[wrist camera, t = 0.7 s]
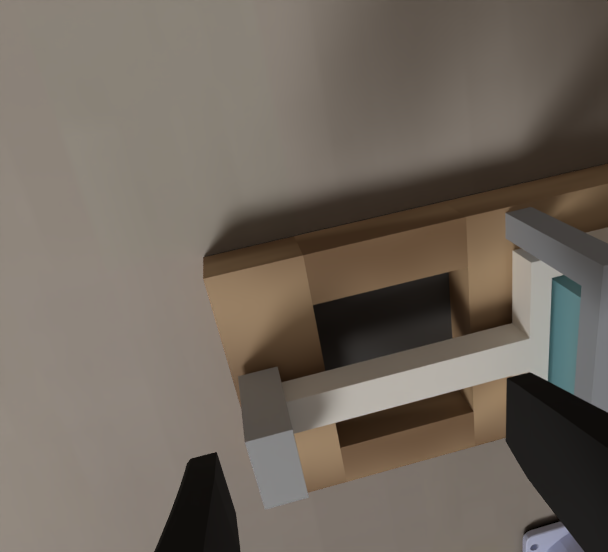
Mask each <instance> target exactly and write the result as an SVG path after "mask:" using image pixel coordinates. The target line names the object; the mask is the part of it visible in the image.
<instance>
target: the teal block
mask: <svg viewBox="0 0 608 552" xmlns="http://www.w3.org/2000/svg"><path fill="white" fill-rule="evenodd" d="M581 287H582V286H581V285H579V284H578V283H576V282H575V281H573V280H571V279H570V278H568V277H567V276H565V275H561V276H557V277H553V278H552V289H551V314H550V338H549V363H548V381H549V382H550V383H552V384H554V385H556V386H558V387H560V388H562V389H564V390H566V391H567V392H569V393H571V394H573V395H574V388H575V373H576V359H577V345H578V330H579V316H580V302H581Z"/></svg>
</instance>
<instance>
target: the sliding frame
mask: <svg viewBox="0 0 608 552" xmlns="http://www.w3.org/2000/svg"><path fill="white" fill-rule="evenodd" d="M586 233H587V234H589V235H591V236H593V237H595V238H597V239H599V240H601V241H603V242H606V243H608V227H607V228H603V229H599V230H594V231H590V232H586ZM561 275H563V274H562V273H560V272H559V271H557V270H555V269H554V268H552V267H551V266H549V265H547V264H546V263H544V262H543V261H541V260H539V259H538V258H536V257H535V256H533V255H531V254H530V253H528V252H527V251H525V250H523V249H522V248H521V249H517V250H512V323H511V324H507V325H503V326H499V327H495V328H491V329H487V330H483V331H479V332H476V333H472V334H468V335H464V336H460V337H456V338H452V339H448V340H444V341H441V342H437V343H433V344H429V345H425V346H421V347H417V348H413V349H409V350H406V351H402V352H398V353H394V354H390V355H386V356H382V357H378V358H374V359H371V360H367V361H363V362H359V363H355V364H351V365H347V366H343V367H339V368H336V369H332V370H328V371H324V372H320V373H316V374H312V375H308V376H304V377H301V378H297V379H293V380H289V381H285V382H281V378H280V374H279V370H278V366H277V367H273V368H269V369H265V370H261V371H257V372H253V373H249V374H246V375H242V376H238V381H239V390H240V400H241V409H242V419H243V429H244V438H245V444H246V448H247V451H248V454H249V458H250V461H251V464H252V468H253V471H254V474H255V478H256V481H257V484H258V488H259V491H260V494H261V498H262V501H263V504H264V508H265V509H269V508H273V507H276V506H280V505H283V504H287V503H291V502H294V501H298V500H301V499H305V498H309V496H308V492H307V488H306V484H305V479H304V475H303V471H302V466H301V462H300V458H299V454H298V449H297V445H296V441H295V437H294V434H295V433H299V432H303V431H306V430H310V429H314V428H318V427H321V426H325V425H329V424H333V423H336V422H340V421H344V420H348V419H351V418H355V417H359V416H363V415H366V414H370V413H374V412H378V411H381V410H385V409H389V408H393V407H396V406H400V405H404V404H408V403H411V402H415V401H419V400H423V399H426V398H430V397H434V396H438V395H441V394H445V393H449V392H453V391H456V390H460V389H464V388H468V387H471V386H475V385H479V384H483V383H486V382H490V381H494V380H498V379H501V378H505V377H509V376H512V377H513V376H517V375H520V374H524V373H528V372H531V373H533V374H535V375H537V376H539V377H541V378H543V379H545V380H547V381H548V363H549V338H550V314H551V289H552V278H553V277H557V276H561Z"/></svg>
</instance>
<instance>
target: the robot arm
mask: <svg viewBox="0 0 608 552" xmlns="http://www.w3.org/2000/svg"><path fill="white" fill-rule="evenodd" d="M506 442H507V444H508V446H509V448H510V449H511V451H512V453H513V455H514V456H515V458H516V460H517V461H518V463H519V465H520V466H521V468H522V470H523V471H524V473H525V474H526V476H527V478H528V479H529V481H530V482H531V483H532V485H533V486H534V487H535V489H536V490H537V491H538V492H539V494H540V495H541V496H542V498H543V499H544V500H545V502H546V503H547V504H548V506H549V507H550V508H551V509H552V511H553V512H554V513H555V515H556V516H557V517H558V518H559V520H560V522H557V523H553V524H550V525H547V526H543V527H540V528H536V529H533V530H530V531H528V532H527V533H525V535H524V537H523V552H608V412H606V411H604V410H602V409H600V408H598V407H596V406H594V405H592V404H590V403H588V402H586V401H585V400H583V399H581V398H579V397H577V396H575V395H573V394H571V393H569V392H567V391H566V390H564V389H562V388H560V387H558V386H556V385H554V384H552V383H550V382H549V381H547V380H545V379H543V378H541V377H539V376H537V375H535V374H533V373H531V372H528V373H524V374H520V375H517V376H513V377H509V378H507V387H506ZM154 552H240V544H239V535H238V527H237V519H236V512H235V509H234V506H233V503H232V499H231V496H230V493H229V490H228V487H227V484H226V480H225V477H224V474H223V471H222V468H221V464H220V461H219V458H218V455H217V452H215V453H211V454H207V455H203V456H200V457H196V458H192V459H190V460H189V462H188V463H187V466H186V469H185V472H184V476H183V479H182V482H181V485H180V488H179V491H178V494H177V496H176V499H175V502H174V504H173V507H172V510H171V513H170V515H169V518H168V520H167V522H166V525H165V527H164V530H163V532H162V535H161V537H160V540H159V542H158V544H157V547H156V549H155V551H154Z"/></svg>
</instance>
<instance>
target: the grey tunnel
mask: <svg viewBox="0 0 608 552" xmlns="http://www.w3.org/2000/svg"><path fill="white" fill-rule="evenodd" d="M505 228H506V239H507V240H509V241H511V242H512V243H514V244H515V245H517V246H519V247H520V248H522V249H523V250H525V251H527V252H528V253H530V254H531V255H533V256H535V257H536V258H538V259H539V260H541V261H543V262H544V263H546V264H547V265H549V266H551V267H552V268H554V269H555V270H557V271H559V272H560V273H562V274H563V275H565V276H567V277H568V278H570V279H571V280H573V281H575V282H576V283H578V284H579V285H581V286H582V287H581V302H580V316H579V330H578V345H577V359H576V373H575V388H574V395H575V396H577V397H579V398H581V399H583V400H585V401H586V402H588V403H590V404H592V405H594V406H596V407H598V408H600V409H602V410H604V411H606V412H608V243H606V242H603V241H601V240H599V239H597V238H595V237H593V236H591V235H589V234H587V233H585V232H583V231H581V230H578V229H576V228H574V227H572V226H570V225H568V224H566V223H564V222H562V221H560V220H558V219H556V218H553V217H551V216H549V215H547V214H545V213H543V212H541V211H539V210H537V209H535V208H533V207H528V208H524V209H520V210H516V211H512V212H507V213H505Z"/></svg>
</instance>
